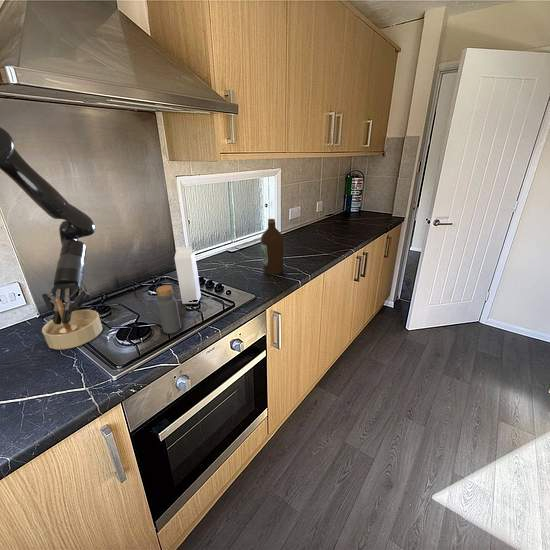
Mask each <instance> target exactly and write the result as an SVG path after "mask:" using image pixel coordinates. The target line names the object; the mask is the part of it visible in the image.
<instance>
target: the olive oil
mask: <svg viewBox="0 0 550 550" xmlns="http://www.w3.org/2000/svg"><path fill="white" fill-rule="evenodd" d="M284 240H285V239H284V235H283V234H282V233H281V232H280V230H278V229H277V227H276V219H275V218H268V219H267V228H266V230H265V231H264V232H263V233H262V235H261V237H260V248H261V258H262V259H261V260H262V268H263V273H264V274H266V275H271V276H273V275H280V274H281V273H283V271H284V248H285V247H284V245H285V241H284Z"/></svg>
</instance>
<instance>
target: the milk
mask: <svg viewBox="0 0 550 550" xmlns="http://www.w3.org/2000/svg"><path fill="white" fill-rule="evenodd" d="M174 254H175V255H174V263H175V269H176V275H177V281H178V286H179V292H180V296H181V297H180V298H181V303H182V305H192V304H194V305H196V304H197V305H198V304H199V301H200V299H201V297H202V292H201V287H200V280H199V273H198V266H197V259H196V252H195V251H194V250H193V246H176V247H175V253H174ZM192 300H198V301H197V302H189V301H192Z"/></svg>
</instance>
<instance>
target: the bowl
mask: <svg viewBox="0 0 550 550" xmlns="http://www.w3.org/2000/svg"><path fill="white" fill-rule="evenodd" d="M69 323H70V325H77V327H78V330H77V331H74V332H70V333H67V334H60V333H59V331H60V329H62V328H63V327H64V325H63V323H62V321H61V324H59V325H57V324H55V323H54V322H53V318H52V319H50V320H49V321H48V322H46V323H45V324H44V325H43V326H42V328H41V333H42V337H43V339H44V342H45V343H46V345H47V346H48V348H49V349H53V350H69V349H73V348H76V347H79V346H82V345H85V344H87V343H89V342H91V341H93V340H95V338H97V337H98V336H99V335H100V334H101V333H102V331H103V329H104V328H103V323H102V320H101V317H100V313H99V312H98V311H96V310H93V309H78V310H74V311H73V312H72V314H71V320H70V322H69Z"/></svg>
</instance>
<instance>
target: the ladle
mask: <svg viewBox="0 0 550 550" xmlns="http://www.w3.org/2000/svg"><path fill="white" fill-rule="evenodd" d="M54 301H55V303H56V306H57V309H58V312H59V314H60V317H61V320H62V317H63V312H64V311H65V306H63V304H62V301H61V299H56V300H55V299H54ZM55 303H54V304H55ZM63 325H64V327H63V328H62V329H60V331H59V333H60V334H67V333H70V332H74V331H77V330H78V327H77V325H70V323H68V324H64V323H63Z"/></svg>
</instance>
